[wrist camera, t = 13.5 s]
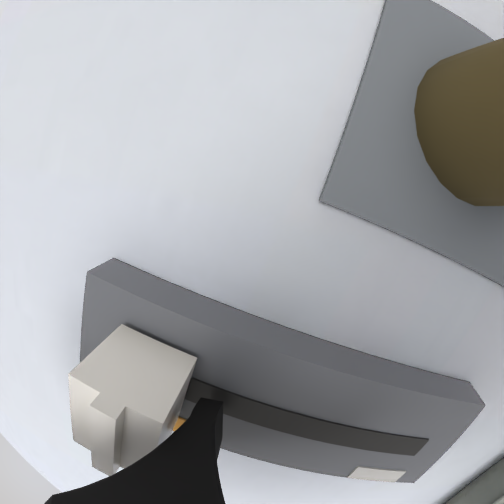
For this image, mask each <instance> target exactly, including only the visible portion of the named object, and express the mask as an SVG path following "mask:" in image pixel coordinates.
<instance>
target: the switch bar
mask: <svg viewBox="0 0 504 504" xmlns="http://www.w3.org/2000/svg"><path fill="white" fill-rule="evenodd" d="M121 324H123V325H125V326H127V327H129V328H131V329H133V330H135V331H138V332H140V333H142V334H144V335H146V336H148V337H150V338H153V339H155V340H157V341H159V342H162V343H164V344H166V345H168V346H171V347H173V348H175V349H178V350H180V351H182V352H185V353H187V354H189V355H192V356H194V357H197V361H196V364H195V367H194V370H193V373H192V376H191V379H190V382H189V385H188V389H187V392H186V395H185V398H184V401H183V404H182V407H181V410H180V414H179V417H178V420H177V422H176V424H175V426H174V428H173V431H176V430H177V429H178V428H179V427H180V426H181V425H182V424H183V423H184V422H185V421H186V420H187V419H188V418H189V417H190V415H191V413H192V410H193V408H194V407H195V405H196V403H197V402H198V401H199V399H200V398H201V397H202V398H207V399H212V400H218V401H223V436H222V442H221V446H220V448H222V449H225V450H228V451H231V452H235V453H238V454H241V455H244V456H248V457H251V458H255V459H258V460H262V461H266V462H270V463H274V464H278V465H282V466H286V467H291V468H295V469H300V470H305V471H310V472H315V473H321V474H327V475H333V476H340V477H347V478H352V479H361V480H371V481H383V482H407V483H414V482H415V481H416V480H417V479H419V478H420V477H421V476H422V475H423V474H424V473H425V472H426V471H427V470H428V469H429V468H430V467H431V466H432V465H433V464H434V463H435V462H436V461H437V460H438V459H439V458H440V457H441V456H442V455H443V454H444V453H445V452H446V451H447V450H448V449H449V448H450V447H451V446H452V445H453V444H454V443H455V442H456V440H457V439H458V438H459V437H460V436H461V435H462V434H463V433H464V431H465V430H466V429H467V428H468V427H469V425H470V424H471V423H472V422H473V421H474V419H475V418H476V417H477V416H478V414H479V413H480V412H481V411H482V409H483V408H484V407H485V404H484V402H483V401H482V399H481V398H480V396H479V395H478V393H477V392H476V390H475V389H474V388H473V386H472V385H471V383H470V382H467V381H463V380H459V379H455V378H451V377H447V376H443V375H439V374H435V373H432V372H428V371H424V370H421V369H417V368H413V367H410V366H406V365H403V364H399V363H396V362H392V361H389V360H386V359H382V358H379V357H376V356H372V355H369V354H366V353H362V352H359V351H356V350H353V349H350V348H347V347H343V346H340V345H337V344H334V343H331V342H328V341H325V340H322V339H319V338H316V337H313V336H310V335H307V334H304V333H301V332H299V331H296V330H293V329H290V328H287V327H284V326H281V325H279V324H276V323H273V322H270V321H267V320H265V319H262V318H259V317H257V316H254V315H251V314H248V313H246V312H243V311H240V310H238V309H235V308H233V307H230V306H227V305H225V304H222V303H220V302H217V301H214V300H212V299H209V298H207V297H204V296H202V295H199V294H197V293H194V292H192V291H189V290H187V289H185V288H182V287H180V286H177V285H175V284H172V283H170V282H168V281H165V280H163V279H160V278H158V277H156V276H153V275H151V274H149V273H146V272H144V271H142V270H139V269H137V268H135V267H133V266H130V265H128V264H126V263H124V262H121V261H119V260H117V259H115V258H113V259H111V260H109V261H107V262H105V263H103V264H101V265H99V266H97V267H95V268H93V269H91V270H89V271H88V272H87V276H86V284H85V293H84V303H83V315H82V329H81V349H80V362H81V361H83V360H84V359H85V358H86V357H87V356H88V355H89V354H90V353H91V352H92V351H93V350H94V349H95V348H96V347H97V346H98V345H100V344H101V343H102V342H103V341H104V340H105V339H106V338H107V337H108V336H109V335H110V334H111V333H112V332H114V331H115V330H116V329H117V328H118V327H119V326H120V325H121Z"/></svg>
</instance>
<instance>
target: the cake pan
mask: <svg viewBox="0 0 504 504" xmlns="http://www.w3.org/2000/svg"><path fill="white" fill-rule="evenodd" d="M445 504H504V458H502V459H501V460H500V461H499V462H497V463H496V464H495V465H493V466H492V467H491V468H489V469H488V470H487V471H486V472H484V473H483V474H482V475H480V476H479V477H478V478H476V479H475V480H474V481H473V482H471V483H470V484H469V485H468V486H466V487H465V488H464V489H462V490H461V491H460V492H459V493H457V494H456V495H455V496H454V497H453V498H451V499H450V500H449V501H448V502H447V503H445Z"/></svg>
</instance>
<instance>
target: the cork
mask: <svg viewBox="0 0 504 504" xmlns="http://www.w3.org/2000/svg"><path fill="white" fill-rule="evenodd" d="M414 114H415V122H416V131H417V137H418V140H419V142H420V145H421V148H422V151H423V153H424V156H425V159H426V162H427V163H428V165H429V166H430V168H431V169H432V171H433V172H434V174H435V175H436V177H437V179H438V180H439V182H440V183H441V184H442V185H443V186H444V187H445V188H447V189H448V190H449V191H450V192H451V193H452V194H453V195H454V196H455V197H456V198H458V199H460V200H462V201H465V202H467V203H469V204H472V205H474V206H504V38H502V39H499V40H496V41H493V42H489V43H486V44H483V45H481V46H478V47H475V48H472V49H469V50H466V51H463V52H461V53H458V54H455V55H453V56H450V57H447V58H445V59H442V60H440V61H439V62H438V63H436V64H435V65H434V66H432V67H431V68H429V69H428V70H427V71H426V73H425V75H424V77H423V79H422V80H421V82H420V84H419V86H418V88H417V95H416V101H415V107H414Z"/></svg>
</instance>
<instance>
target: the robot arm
mask: <svg viewBox="0 0 504 504" xmlns="http://www.w3.org/2000/svg"><path fill="white" fill-rule="evenodd" d="M222 436H223V401H218V400H212V399H207V398H202V397H201V398H200V399H199V401H198V402H197V403H196V405H195V407H194V408H193V410H192V413H191V415H190V417H189V418H188V419H187V420H186V421H185V422H184V423H183V424H182V425H181V426H180V427H179V428H178V429H177V430H176V431H175V432H174V433H173V434H172V435H171V436H169V437H168V438H167V439H166V440H165V441H163V442H162V443H161V444H160V445H159V446H157V447H156V448H155V449H154V450H152V451H151V452H150V453H148V454H147V455H145V456H144V457H143V458H141V459H140V460H138V461H136V462H135V463H133V464H132V465H130V466H128V467H126V468H125V469H123V470H121V471H119V472H117V473H115V474H113V475H111V476H109V477H107V478H105V479H102V480H100V481H97V482H95V483H92V484H90V485H87V486H84V487H81V488H78V489H74V490H71V491H67V492H63V493H59V494H55V495H52V496H51V497H50V498H49V499H48V500H47V501H46V502H45V504H225V501H224V497H223V493H222V489H221V484H220V479H219V473H218V467H217V458H218V454H219V450H220V446H221V442H222Z"/></svg>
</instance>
